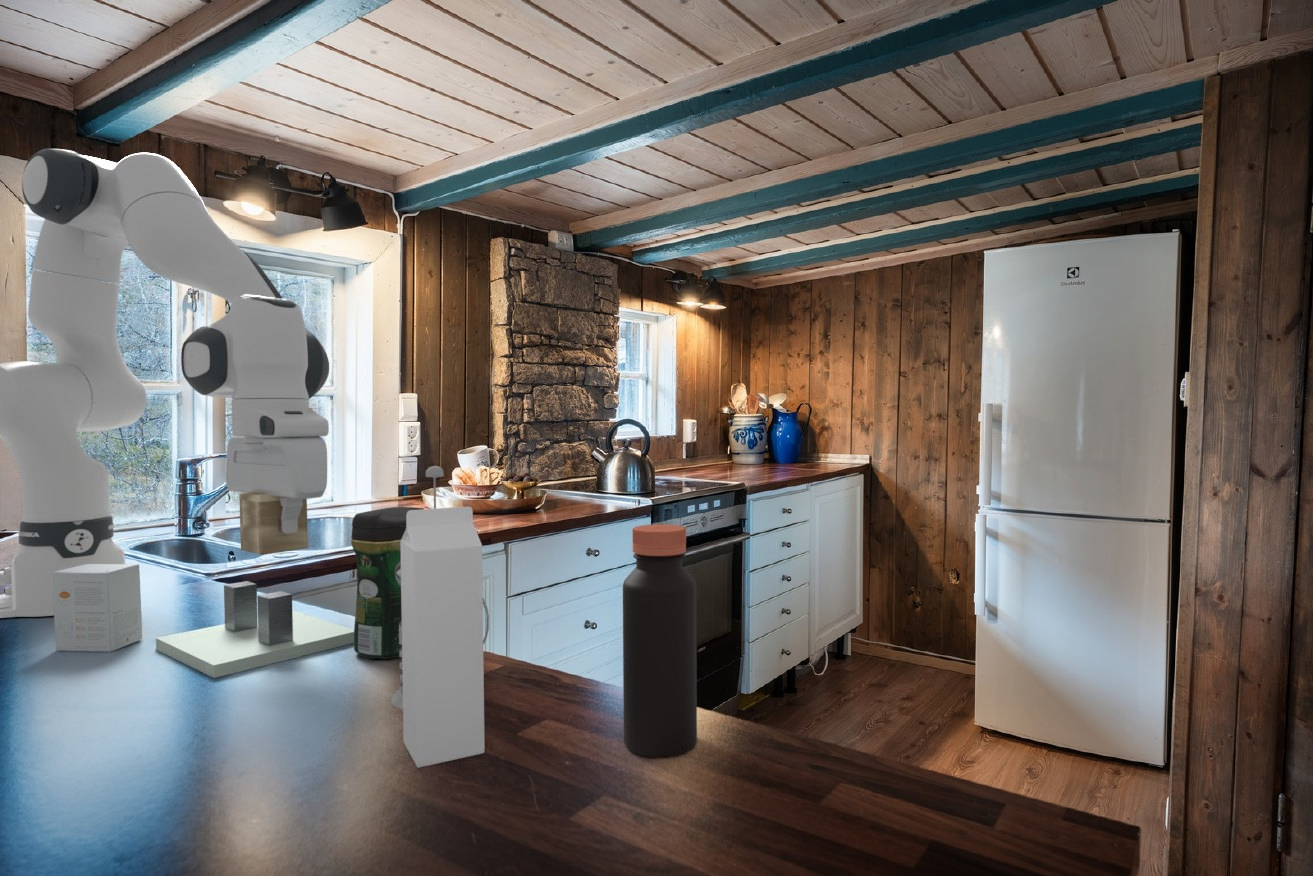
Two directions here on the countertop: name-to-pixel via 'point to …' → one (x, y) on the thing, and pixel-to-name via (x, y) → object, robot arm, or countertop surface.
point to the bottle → (659, 646)
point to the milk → (442, 636)
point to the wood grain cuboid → (268, 525)
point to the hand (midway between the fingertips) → (274, 530)
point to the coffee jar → (378, 581)
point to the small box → (97, 607)
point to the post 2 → (275, 618)
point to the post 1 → (240, 606)
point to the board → (250, 645)
